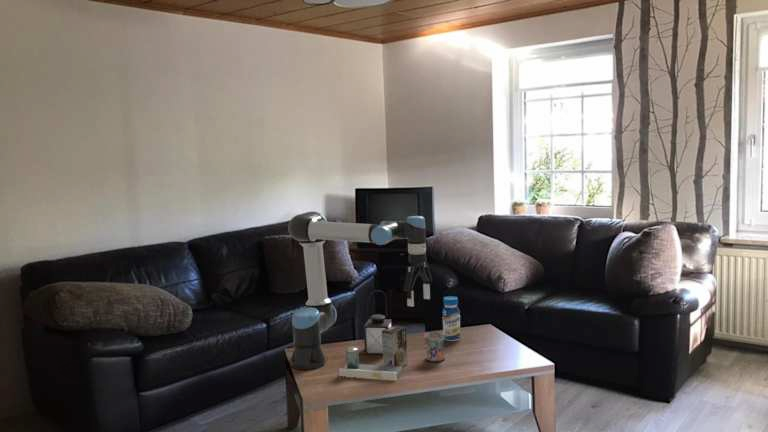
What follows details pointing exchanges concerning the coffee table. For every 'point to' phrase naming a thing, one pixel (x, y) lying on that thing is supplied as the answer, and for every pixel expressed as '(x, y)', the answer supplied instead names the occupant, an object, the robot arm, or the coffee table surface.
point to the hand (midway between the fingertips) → (418, 302)
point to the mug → (434, 346)
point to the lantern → (375, 332)
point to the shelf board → (372, 372)
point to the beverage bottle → (451, 319)
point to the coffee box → (394, 346)
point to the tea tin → (352, 357)
